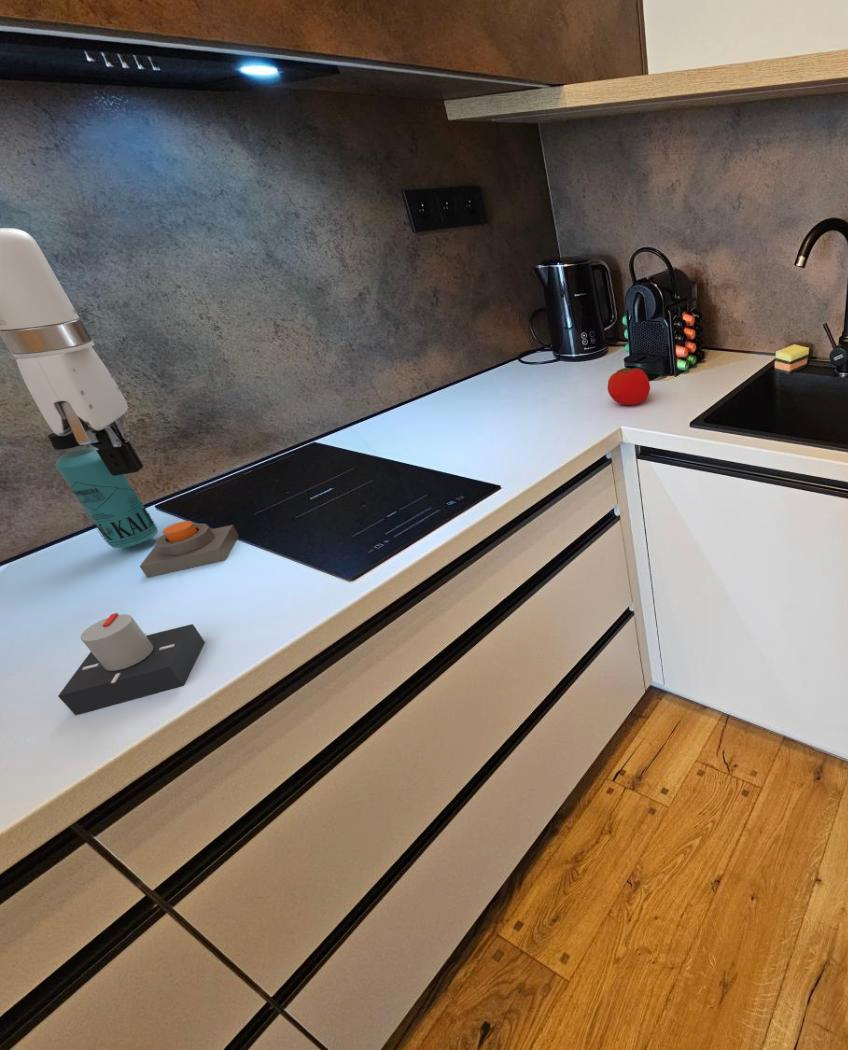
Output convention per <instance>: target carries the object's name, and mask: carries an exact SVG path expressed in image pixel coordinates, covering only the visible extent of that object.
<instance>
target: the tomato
mask: <svg viewBox="0 0 848 1050" xmlns="http://www.w3.org/2000/svg"><path fill="white" fill-rule="evenodd" d="M606 389H607V393H608V394H609V396H610V397H611V399H612V400H613V401H614V402H615V403H617V404H619V405H624V406H625V405H626V406H635V405H638V404H640V403H641V404H642V402H643V403H644V401H645V400H647V398H648V397H649V395H650V391H651V384H650V379H649V377H648V375H647V374H646V372H645V371H644V370H643V369H641V368H636V367H634V368H630V367H623V368H621V369H618V370H617V371H616V372H614V373H612V375H610V376H609V378H608V381H607V388H606Z"/></svg>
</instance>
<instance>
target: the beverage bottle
mask: <svg viewBox="0 0 848 1050" xmlns="http://www.w3.org/2000/svg"><path fill="white" fill-rule="evenodd" d="M47 438H48V440H49V441H50V443H51V446H52V447H53V449H54V450H55V451H61V450H62V451H63V450H68V449H73V448H77V447H80V446H82V445H80V444H79V443H78V442H77V440H76V438H75V436H74V434H73V432H71V433H70V434H68V435H65V436H59V435H57V434H55V433H54V432H52V433H50V434H48V435H47ZM54 468H55V469H56V470H57V471H58V472H59V474H60V475H61V477H62V478H63V479H64V481H65V483H66V484H67V486H68V487H69V491H71V493H72V494H73V496H74V498H75V499H76V500H77V502H78V503H79V504H80V505H81V507H82V508H83V511H84V512H85V513H86V516H88V517H89V518H90V519H91V522H92V525H93V526H94V528H95V529H96V530H97V531H98V534H99V535H100V536H101V538H102V539H103V540H104V542H105V543H106V544H107V545H108V546H110V547H111V548H114V549H124V548H129V547H133V546H136V545H139V544H141V543H145V542H146V541H149V540H150V539H152V538H154V537H155V536H156V535H157V534H158V526H157V524H156V523H155V521H154V518H152V516H151V514H150V512H149V511H148V510H147V508H146V507H147V506H145V504H144V503H143V502H142V501H141V498H140V496H138V494H137V492H136V490H135V489H133V487H132V486H131V484H130V483H129V481H128V480H127V478H126V476H125V474H123V475H117V476H113V475H111V473H110V472H109V470H108V469H107V467H106V465H105V464H104V462H103V461H102V459H101V457H100V456H99V454H98V453H97V451H95V450H93V448H92V447H91V446H89V447H82V448H77V449H74V450H70V451H68V452H66V453H63V454H61V455H60V456H59V457H58V458H57V460H56V462H55V466H54Z"/></svg>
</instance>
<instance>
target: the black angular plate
mask: <svg viewBox="0 0 848 1050" xmlns="http://www.w3.org/2000/svg"><path fill="white" fill-rule="evenodd" d="M143 633H144V632H143ZM144 634H145V635H146V637H147V638H148V639H149V641H150V642H151V644H152V645H153V651H152V652H151V654H150V655H149V656H147V657H146V658H145V659H143V660H142V661H140V662H139V663H137V664H135V665H133V666H130V667H128V668H125V669H121V670H116V671H109V670H106V669H105V668H104V667H103V666H102V664H101V663H100V662H99V661H98V660H97V658H96V657H95V656H94V655H93V653H92V652H91V651H90V652H89V653H88V654H87V656H86V657H85V658H84V660H83V661H82V662H81V664H80V665H79V666H78V668H77V669H76V670H75V672H74V674H73V675H71V678H70V679H69V680H68V682H67V683H66V684H65V686H64V687H63V689H62V690H61V691H60V692H59V694H58V696H57V697H58V698H59V699H60V700H61V702H63V703H64V705H65V706H66V707H67V708H68V709H69V710H70V711H71V712H72V714H73V715H74V716H78V715H81V714H86V713H88V712H92V711H96V710H100V709H104V708H106V707H111V706H114V705H117V704H118V705H119V704H122V703H126V702H128V701H132V700H137V699H140V698H142V697H147V696H150V695H154V694H158V693H162V692H165V691H169V690H172V689H176V688H180V687H184V685H185V683H186V681H187V679H188V677H189V675H190V673H191V671H192V669H193V667H194V665H195V663H196V661H197V659H198V657H199V655H200V653H201V651H202V649H203V647H204V645H205V642H206V641H205V640H204V638H203V637H202V636H201V634H200V632H199V631H198V629H197V628H196V627H195V625H194V624H193V623H190V624H187V625H182V626H178V627H175V628H171V629H167V630H162V631H159V632H155V633H151V634H147V633H146V632H145V633H144Z"/></svg>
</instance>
